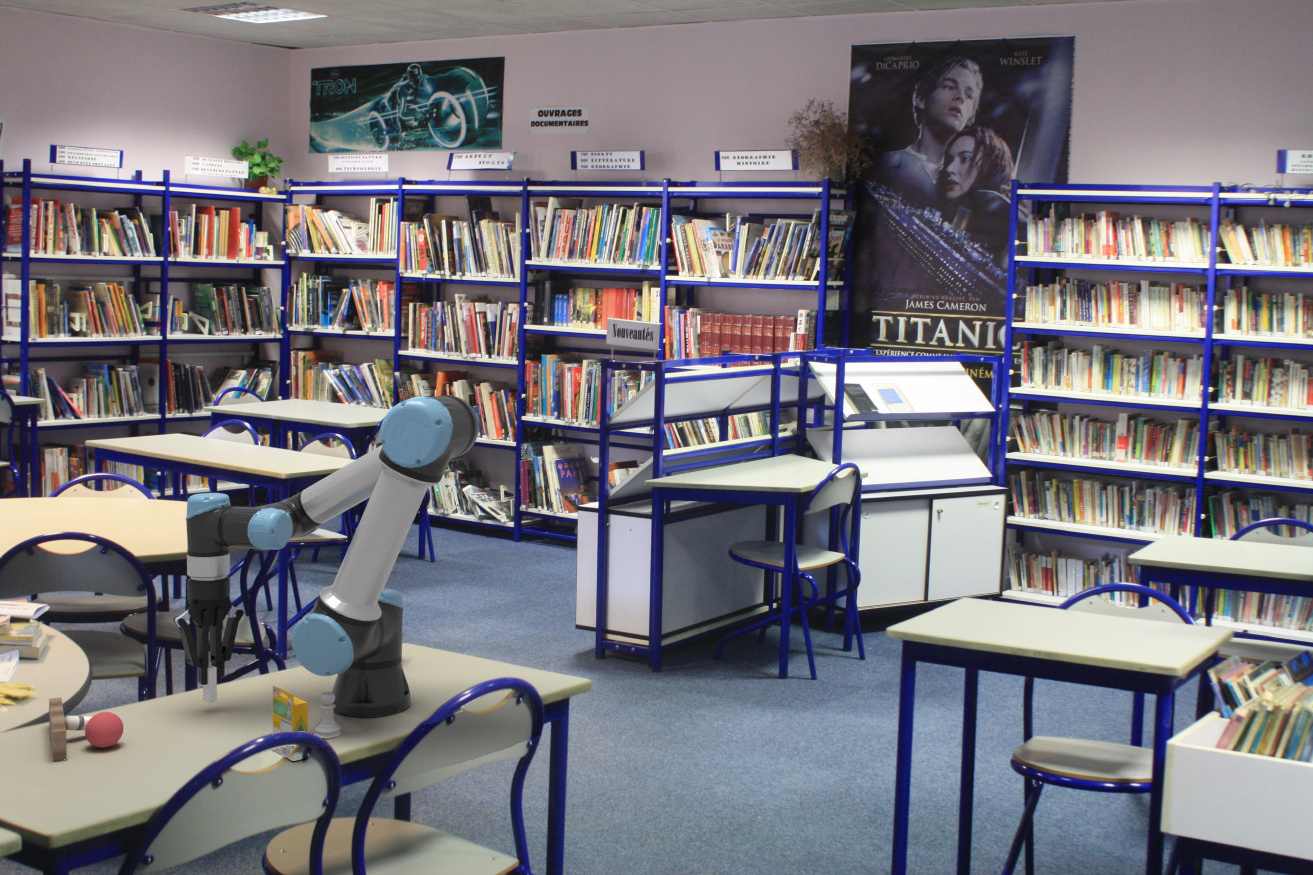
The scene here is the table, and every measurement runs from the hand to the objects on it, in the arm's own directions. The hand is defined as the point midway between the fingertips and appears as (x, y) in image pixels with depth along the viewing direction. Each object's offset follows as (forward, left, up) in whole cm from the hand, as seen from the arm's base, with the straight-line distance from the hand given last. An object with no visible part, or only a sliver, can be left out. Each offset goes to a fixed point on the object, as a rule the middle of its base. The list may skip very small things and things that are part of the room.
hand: (209, 699), depth 230 cm
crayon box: (-31, 0, -2) cm, 31 cm away
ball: (-7, +22, +1) cm, 23 cm away
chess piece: (-26, -10, -2) cm, 28 cm away
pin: (0, +17, -1) cm, 17 cm away
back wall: (0, +27, -2) cm, 27 cm away
